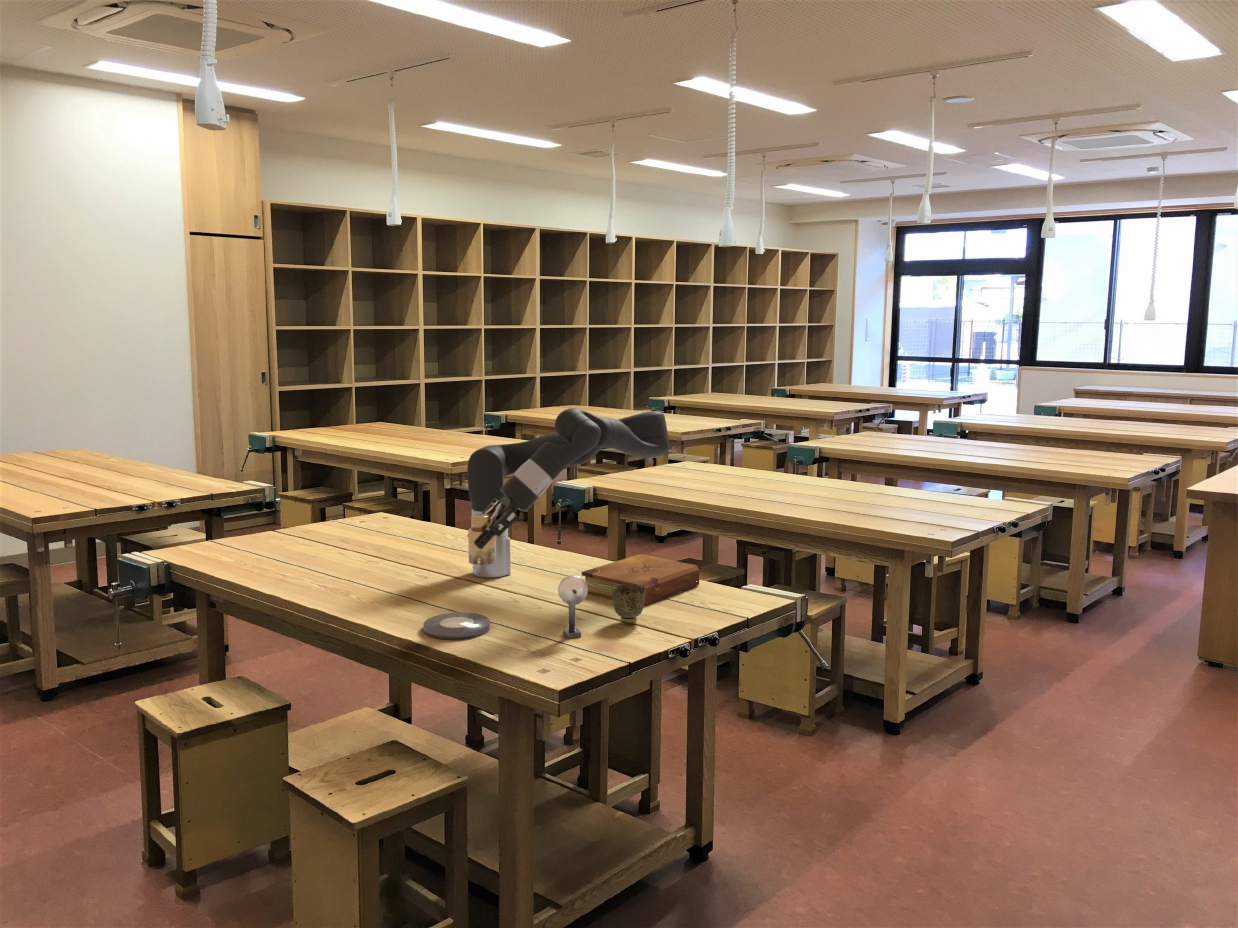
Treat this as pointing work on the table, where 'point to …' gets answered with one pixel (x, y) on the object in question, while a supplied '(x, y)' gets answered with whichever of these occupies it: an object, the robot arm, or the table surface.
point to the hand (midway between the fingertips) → (473, 542)
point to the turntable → (456, 626)
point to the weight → (477, 527)
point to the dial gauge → (572, 600)
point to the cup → (628, 602)
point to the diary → (642, 577)
